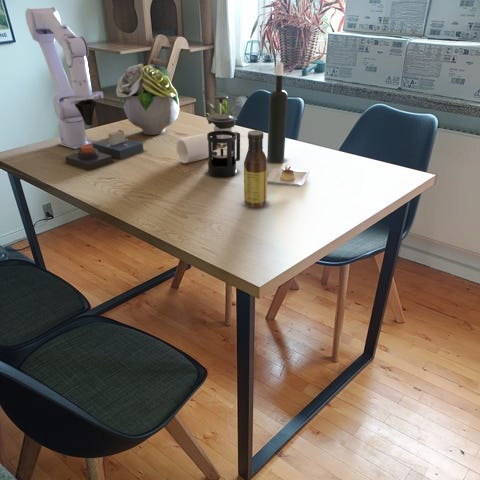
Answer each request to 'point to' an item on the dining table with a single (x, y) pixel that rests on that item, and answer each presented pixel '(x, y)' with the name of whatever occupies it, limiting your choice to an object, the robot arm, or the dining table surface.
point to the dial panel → (119, 148)
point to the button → (87, 148)
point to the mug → (192, 148)
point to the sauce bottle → (255, 171)
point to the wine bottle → (277, 119)
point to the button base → (88, 159)
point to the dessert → (287, 176)
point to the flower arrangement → (148, 98)
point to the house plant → (224, 111)
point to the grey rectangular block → (116, 137)
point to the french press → (222, 158)
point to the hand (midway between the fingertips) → (88, 124)
